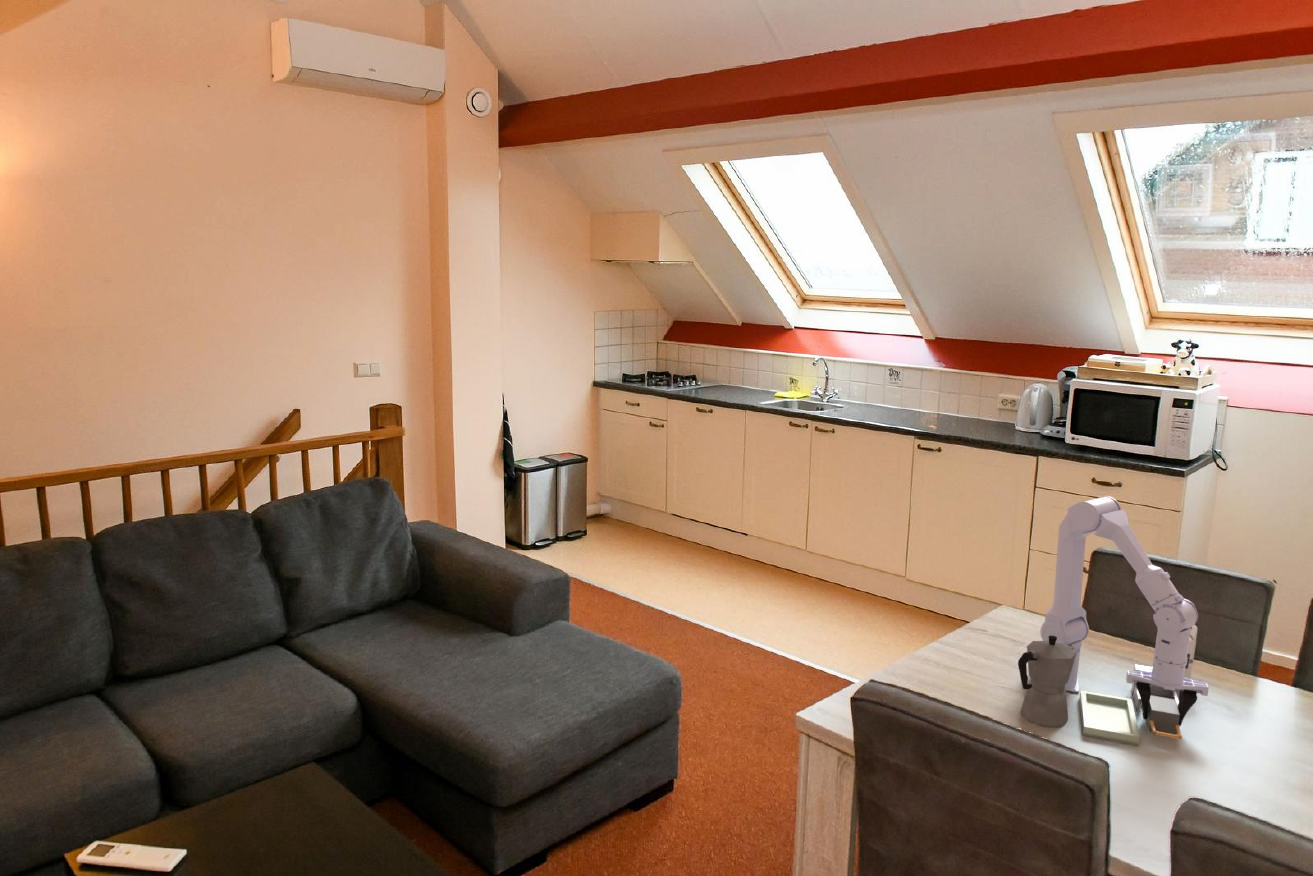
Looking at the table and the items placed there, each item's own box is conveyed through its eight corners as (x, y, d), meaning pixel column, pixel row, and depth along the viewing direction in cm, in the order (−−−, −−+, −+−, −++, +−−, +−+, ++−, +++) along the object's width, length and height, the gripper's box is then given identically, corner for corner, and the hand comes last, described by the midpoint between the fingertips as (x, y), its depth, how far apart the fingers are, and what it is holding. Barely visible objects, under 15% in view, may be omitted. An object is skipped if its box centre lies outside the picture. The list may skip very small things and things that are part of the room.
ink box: (1153, 671, 217) (1162, 611, 214) (1176, 673, 216) (1185, 613, 213) (1165, 687, 209) (1174, 625, 206) (1189, 690, 208) (1198, 628, 205)
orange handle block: (1151, 744, 184) (1154, 721, 183) (1144, 717, 195) (1147, 695, 194) (1180, 749, 183) (1183, 726, 182) (1171, 721, 194) (1175, 699, 193)
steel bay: (1136, 711, 197) (1139, 685, 196) (1131, 689, 207) (1134, 664, 206) (1179, 719, 194) (1182, 692, 193) (1171, 696, 204) (1175, 670, 203)
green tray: (1083, 735, 187) (1084, 726, 187) (1079, 698, 202) (1080, 690, 202) (1138, 746, 183) (1140, 736, 183) (1130, 707, 199) (1131, 699, 198)
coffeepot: (1048, 700, 201) (1057, 622, 198) (1085, 720, 193) (1094, 639, 189) (995, 715, 195) (1003, 634, 191) (1031, 736, 186) (1040, 652, 183)
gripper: (1132, 660, 187) (1124, 722, 190) (1214, 673, 182) (1205, 736, 185) (1128, 646, 194) (1121, 706, 196) (1208, 658, 188) (1199, 720, 191)
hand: (1161, 720), depth 191 cm, fingers open, 5 cm apart
